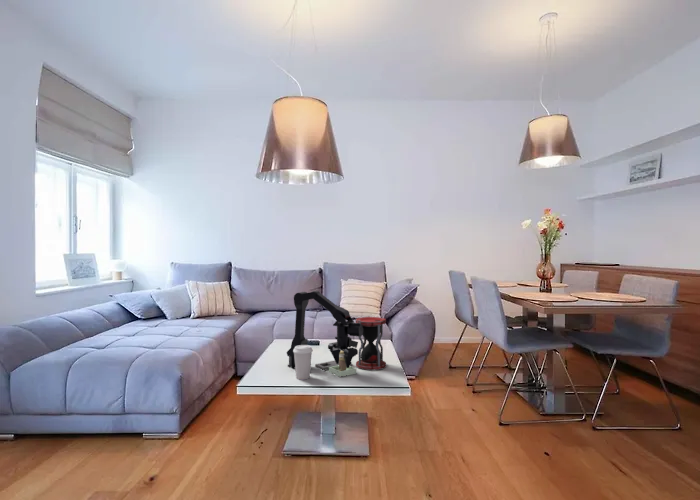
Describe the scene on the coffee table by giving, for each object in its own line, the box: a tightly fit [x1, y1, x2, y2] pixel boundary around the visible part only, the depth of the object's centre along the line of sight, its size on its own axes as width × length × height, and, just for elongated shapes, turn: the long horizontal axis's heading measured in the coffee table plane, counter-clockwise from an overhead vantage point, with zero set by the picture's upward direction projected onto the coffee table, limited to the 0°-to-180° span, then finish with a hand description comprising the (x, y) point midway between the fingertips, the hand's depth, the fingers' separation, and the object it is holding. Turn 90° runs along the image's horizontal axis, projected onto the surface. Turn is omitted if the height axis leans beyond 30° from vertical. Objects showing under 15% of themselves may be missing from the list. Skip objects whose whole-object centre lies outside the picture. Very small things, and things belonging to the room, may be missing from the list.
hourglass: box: [355, 316, 387, 371], centre depth 220 cm, size 16×16×25 cm
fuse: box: [339, 350, 344, 358], centre depth 223 cm, size 4×4×7 cm
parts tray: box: [328, 365, 357, 378], centre depth 208 cm, size 10×10×2 cm
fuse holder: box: [314, 360, 353, 371], centre depth 220 cm, size 18×8×1 cm, turn 126°
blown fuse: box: [339, 357, 346, 371], centre depth 208 cm, size 4×4×7 cm
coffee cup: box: [293, 344, 313, 381], centre depth 201 cm, size 10×10×15 cm
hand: (342, 365), depth 208 cm, fingers open, 9 cm apart
